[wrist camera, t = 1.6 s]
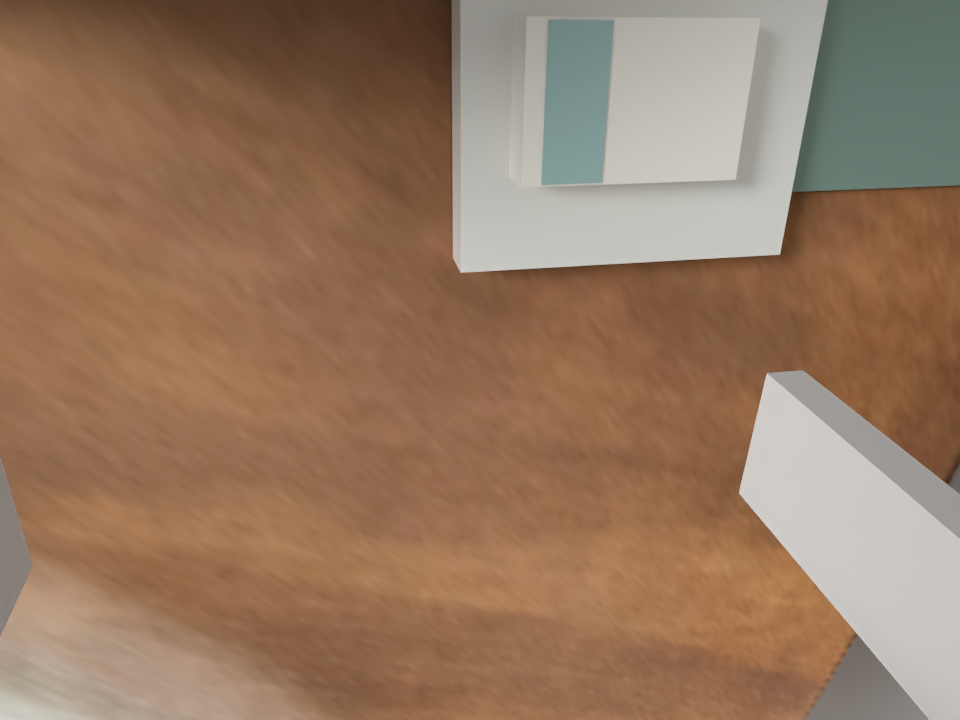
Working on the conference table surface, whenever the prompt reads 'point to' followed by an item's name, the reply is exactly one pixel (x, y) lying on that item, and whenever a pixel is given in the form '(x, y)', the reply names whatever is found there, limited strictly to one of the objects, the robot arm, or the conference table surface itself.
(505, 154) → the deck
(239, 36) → the conference table surface
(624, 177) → the card
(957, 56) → the mat
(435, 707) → the conference table surface
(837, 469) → the robot arm
